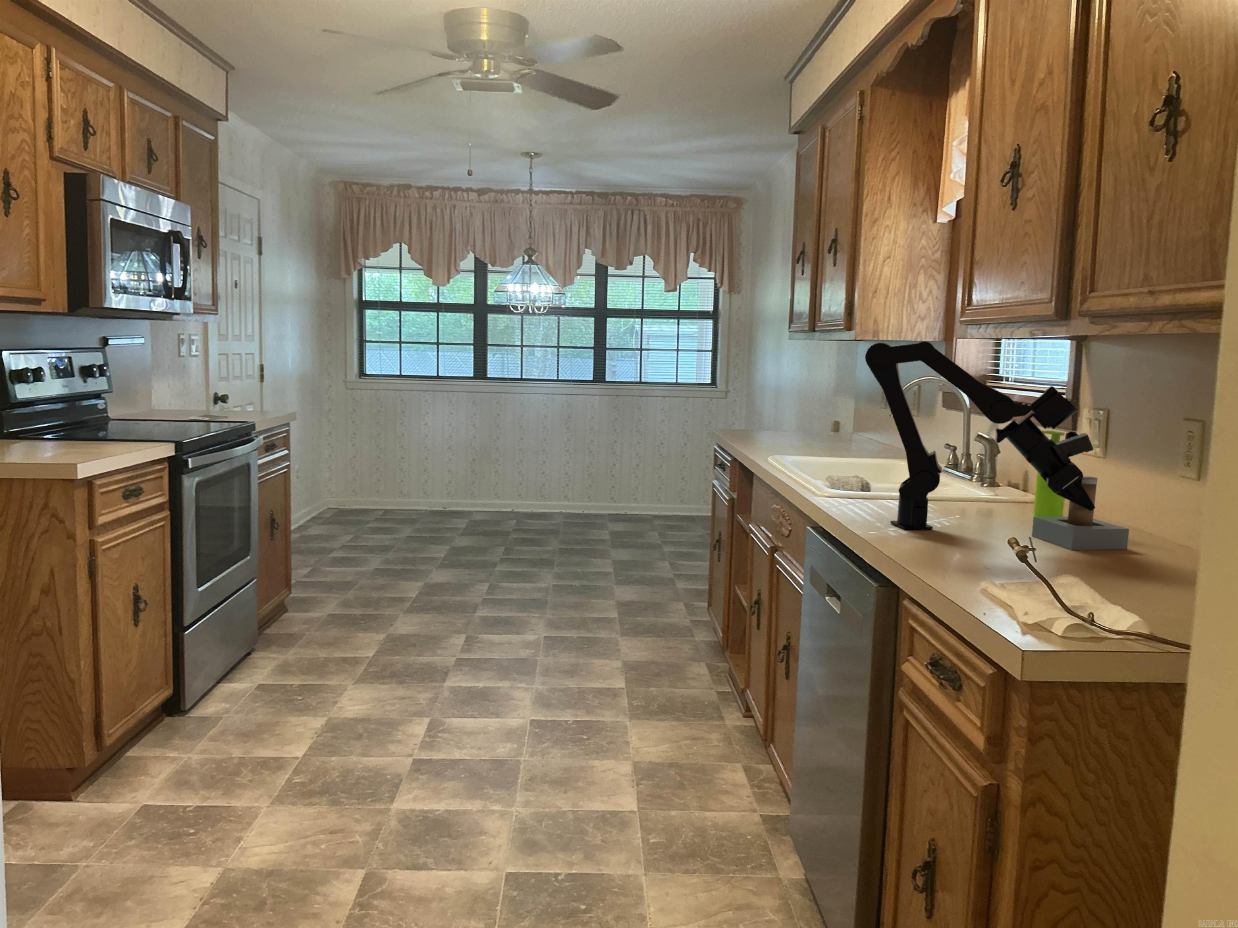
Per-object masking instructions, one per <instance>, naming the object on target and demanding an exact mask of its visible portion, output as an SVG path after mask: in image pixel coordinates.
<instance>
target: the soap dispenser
mask: <svg viewBox="0 0 1238 928" xmlns="http://www.w3.org/2000/svg"><path fill="white" fill-rule="evenodd" d="M1041 431H1042V432H1043V433H1044V434H1045V435H1046V434H1048V435H1051V437H1050V439H1052V440H1053V441H1054V442H1055V443H1057V442H1060V441H1061V437H1062V436H1065V435H1066V432H1062V431H1057V430H1041ZM1035 483H1036V484H1035V492H1034V502H1033V503H1034V504H1033V515H1032V519H1033V518H1034V517H1064V512H1065V511H1064V507H1065V501H1066V499H1065V498H1063V497H1061V496H1059V495H1057V494H1056V493H1054V492H1053V491H1052V490H1051V489H1050V488H1049V487H1048V486H1047V484H1046V481H1045V480H1044V479H1043V478H1042V477H1041V475H1040V474H1039V473H1038V472H1037V471H1036V482H1035Z"/></svg>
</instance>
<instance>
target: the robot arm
mask: <svg viewBox="0 0 1238 928" xmlns="http://www.w3.org/2000/svg"><path fill="white" fill-rule="evenodd" d="M864 359H865V362H866V365H867V366H868V368H869V370H870V372H871V373H872V375H873V376H874V378H875V380H876V381H877V382H878V383H877V384H879V386H880V387H881V389H882V391H883V394H884V397H885V400H886V401H887V404H888V407H889V410H890V412H891V416H892V418H893V421H894V424H895V426H896V429H897V432H898V434H899V436H900V440H901V443H902V445H903V449H904V450H905V455H906V462H907V463H906V464H907V470H908V476H909V477H908V478H906V479H905V480H904V481H902V482H901V483H900V485H899V487H898V494H899V495H898V503H897V504H898V506H897V519H896V520H890V524H892V525H894V526H896V527H898V528H901V529H904V530H933V529H934V527H933V525H930V524H927V522H928V514H929V513H928V512H929V498H928V496H929V493H932V492H934V491H935V490H936V489H937V488H939V487H938V486H939V485H940V481H941V474H942V472H943V468H942V466H941V465H940V463H939V462H938V458H937V451H936V450H933V451H931V452H929V451H928V449H927V448H926V447H925V445H924V442H923V439H922V437H921V434H920V432H919V429H918V427H917V426H918V425H917V424H916V420H915V418H914V416H913V413H912V410H911V408H910V405H909V402H908V399H907V397H906V394H905V391H904V388H903V385H902V381H901V376H900V368H899V364H905V363H913V362H922V363H923V364H925V365H926V366H927V367H929V368H930V369H931V370H933V371H934V372H936V374H938V375H939V376H940V377H942V378H943V379H944V380H946V381H947V382H948V383H950V384H951V385H953V387H955V388H956V389H958V390H959V391H960V392H962V393H963V394H964V395H965V396H966V397H967V398H968V399H969V400H970V401H971V402H972V403H973V404H974V405H975V406H976V408H978V409H979V410H980V412H981V413H982V414H983V415H984V416H985V417H986V419H988V420H989V421H990V422H991V423H994V424H998V425H1000V424H1002V425H1003V424H1005V423H1008V424H1007V425H1005V427H1003V428H996V429H995V432H996V436H995V437H996V438H995V442H996V443H998V444H1000V443H1002V442H1003V441H1005V439H1006V440H1008V441H1009V443H1010V444H1011V445H1012V446H1013V447H1014V448H1015V449H1016V451H1018V453H1019V454H1021V455H1022V456H1023V458H1024V459H1025V460H1026V461H1027V462H1028V463H1029V464H1030V465H1031V467H1033V469H1034V470H1036V473H1037V472H1038V473H1039V474H1040V475H1041V477H1042V478H1043V479H1044V480H1045V481H1046V484H1047V486H1048V487H1049V488H1050V489H1051V490H1052V491H1053V492H1054V493H1056V494H1057V495H1059V496H1061V497H1063V498H1065V500H1067V501H1069V502H1070V501H1071V502H1074V503H1076V504H1078V505H1080V506H1082V507H1084V508H1086V509H1088V510H1090V511H1092V510H1093V509H1094V510H1095V509H1096V505H1094V504H1093V502H1092V501H1091V499H1090V497H1089V496H1088V494H1087V493H1086V491H1085V489H1084V488H1083V486H1082V478H1083V476H1084V473H1083V471H1082V470H1081V469H1080V468H1079V466H1077V465H1076V464H1075V462H1072V461H1071V458H1070V457H1074V456H1077V455H1079V454H1083V453H1089V452H1092V451H1094V446H1093V444H1092V441H1091V439H1090V437H1089V434H1088V433H1087V432H1084V433H1083V432H1082V433H1080V434H1079V433H1077V432H1076V431H1074V430H1071V431H1068V432H1065V434H1064V436H1065V438H1064V439H1060V442H1057V443H1055V442H1054V441H1053V440H1052V439H1051V438H1049V437H1048V436H1047V435H1046V434H1044V433H1043V432H1042V431H1043V430H1041V428H1039V427H1038V426H1037V425H1036V423H1035V422H1034V421H1033V420H1032V419H1031V418H1034V419H1035V421H1036V422H1037V423H1038V424H1039V425H1040V426H1041V427H1042V428H1043V429H1044V430H1047V428H1048V429H1050V428H1051V429H1052V431H1055V429H1057V428H1058V427H1059V426H1060V425H1061V424H1063V423H1064V422H1065V421H1067V420H1068V419H1069V418H1071V417H1072V416H1073V415H1074V414H1075V413H1077V412H1078V409H1077V408H1076V406H1075V405H1073V403H1072V402H1071V401H1070V400H1069V399H1068V398H1067V397H1065V396H1063V394H1062V393H1060V392H1059V390H1057V389H1056V388H1055V387H1054V386H1052V385H1050V386H1049V387H1048V388H1047V389H1046V390H1045V391H1044V392H1043V393H1042V394H1040V396H1038V397H1037V398H1035V399H1034V400H1033V401H1032V402H1031V403H1030V404H1029V403H1027V402H1025V401H1024V402H1019V401H1015V400H1013V399H1012V398H1011V397H1010V396H1009V395H1007V394H1005V393H1004V392H1002V391H999V390H998V389H995V388H993V387H991V386H989V385H988V384H985V383H983V382H982V381H979V380H978V379H977V378H976V377H975V376H973V375H971V374H970V373H968V372H967V371H966V369H964V368H962V367H960V365H958V364H957V363H956V362H954V361H953V360H952V359H950V358H949V357H947V356H946V355H945V354H944V353H942V352H941V351H940V350H938V349H937V348H935V346H934V345H933V344H932V343H931V342H929V341H920V342H917V343H911V344H909V343H908V344H903V345H894V346H892V345H891V344H889V343H885V342H877V343H874V344H871V345H870V346H869V347H868V349H867V351H866V353H865V356H864ZM1017 417H1024V418H1022V419H1021V420H1020V421H1018V422H1017V421H1016V420H1015V419H1013V418H1017ZM1012 419H1013V420H1012Z"/></svg>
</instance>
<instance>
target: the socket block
mask: <svg viewBox="0 0 1238 928" xmlns="http://www.w3.org/2000/svg"><path fill="white" fill-rule="evenodd" d="M1067 522H1068V516H1063V517H1034V518H1033V517H1032V531H1031V537H1033V538H1036V539H1038V540H1041V541H1044V542H1047V543H1050V544H1053V545H1056V546H1059V547H1062V548H1065V549H1067V550H1070V551H1087V550H1088V551H1090V550H1091V551H1093V550H1097V551H1102V550H1103V551H1104V550H1105V551H1107V550H1109V551H1110V550H1127V549H1128V542H1129V536H1130V535H1129V534H1130V528H1127V527H1124V526H1121V525H1117V524H1113V523H1110V522H1108V521H1107V522H1106V521H1103V520H1100V519H1096V518H1093V524H1092V526H1075V525H1072V524H1069V523H1067Z"/></svg>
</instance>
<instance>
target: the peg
mask: <svg viewBox="0 0 1238 928" xmlns="http://www.w3.org/2000/svg"><path fill="white" fill-rule="evenodd" d="M1097 485H1098V477H1094V476H1088V475H1083V478H1082V486H1083V488H1084V489H1085V491H1086V493H1087V494H1088V496H1089V497H1090V499H1091V501H1092V502H1093V504H1094V506H1096V504H1095V503H1096V493H1097ZM1068 503H1069V504H1068V512H1067V513H1068V514H1067V517H1068V522H1067V523H1069V524H1072V525H1075V526H1092V524H1093V519H1094V513H1095V509H1093V510H1092V511H1090V510H1088V509H1086V508H1084V507H1082V506H1080V505H1078V504H1076V503H1074V502H1071V501H1069V502H1068Z"/></svg>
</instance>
